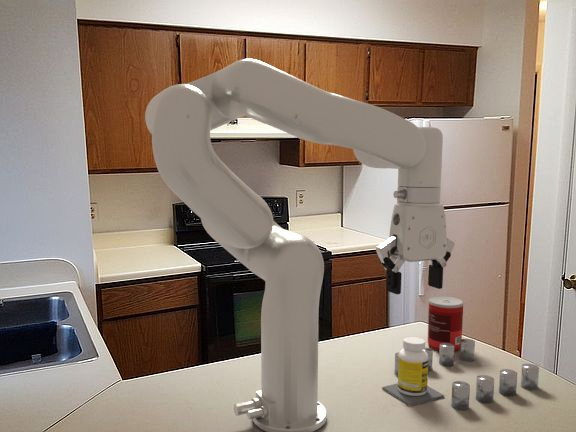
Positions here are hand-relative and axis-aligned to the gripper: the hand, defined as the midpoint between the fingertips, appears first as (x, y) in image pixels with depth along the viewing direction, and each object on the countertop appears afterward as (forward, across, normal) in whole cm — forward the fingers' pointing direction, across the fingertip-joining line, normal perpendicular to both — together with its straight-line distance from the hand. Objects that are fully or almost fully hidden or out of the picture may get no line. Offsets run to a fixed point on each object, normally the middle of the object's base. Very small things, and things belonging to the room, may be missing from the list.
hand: (414, 289), depth 98 cm
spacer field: (+20, +13, 0) cm, 24 cm away
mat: (+20, 0, 0) cm, 20 cm away
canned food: (+20, +23, +16) cm, 35 cm away
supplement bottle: (+20, 0, 0) cm, 20 cm away
